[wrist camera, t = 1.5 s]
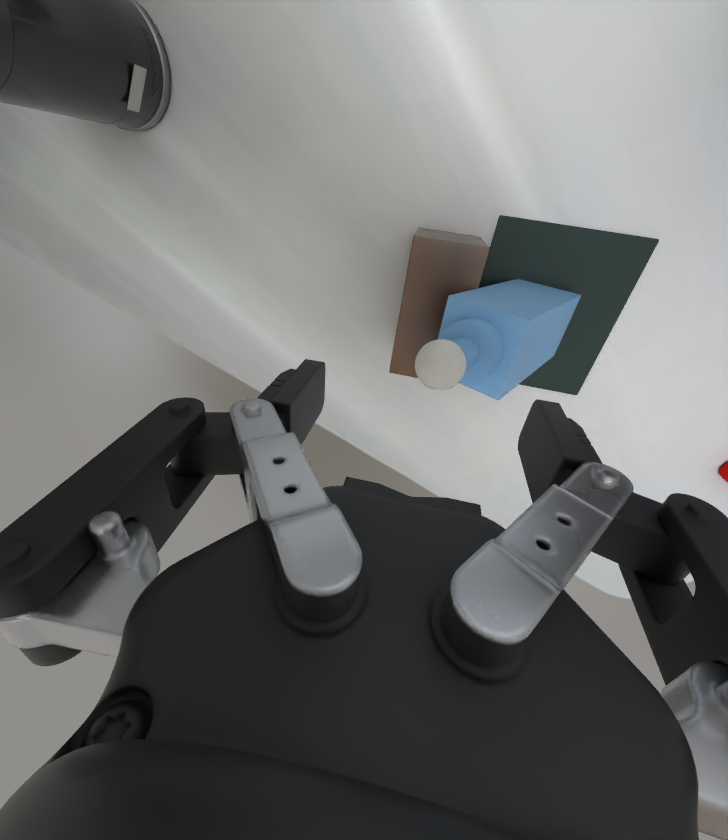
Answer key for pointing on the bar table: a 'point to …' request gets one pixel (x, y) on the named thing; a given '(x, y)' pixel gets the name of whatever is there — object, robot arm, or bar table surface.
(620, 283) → the mat
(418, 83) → the bar table surface
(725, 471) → the popsicle
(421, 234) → the block
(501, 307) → the bottle
